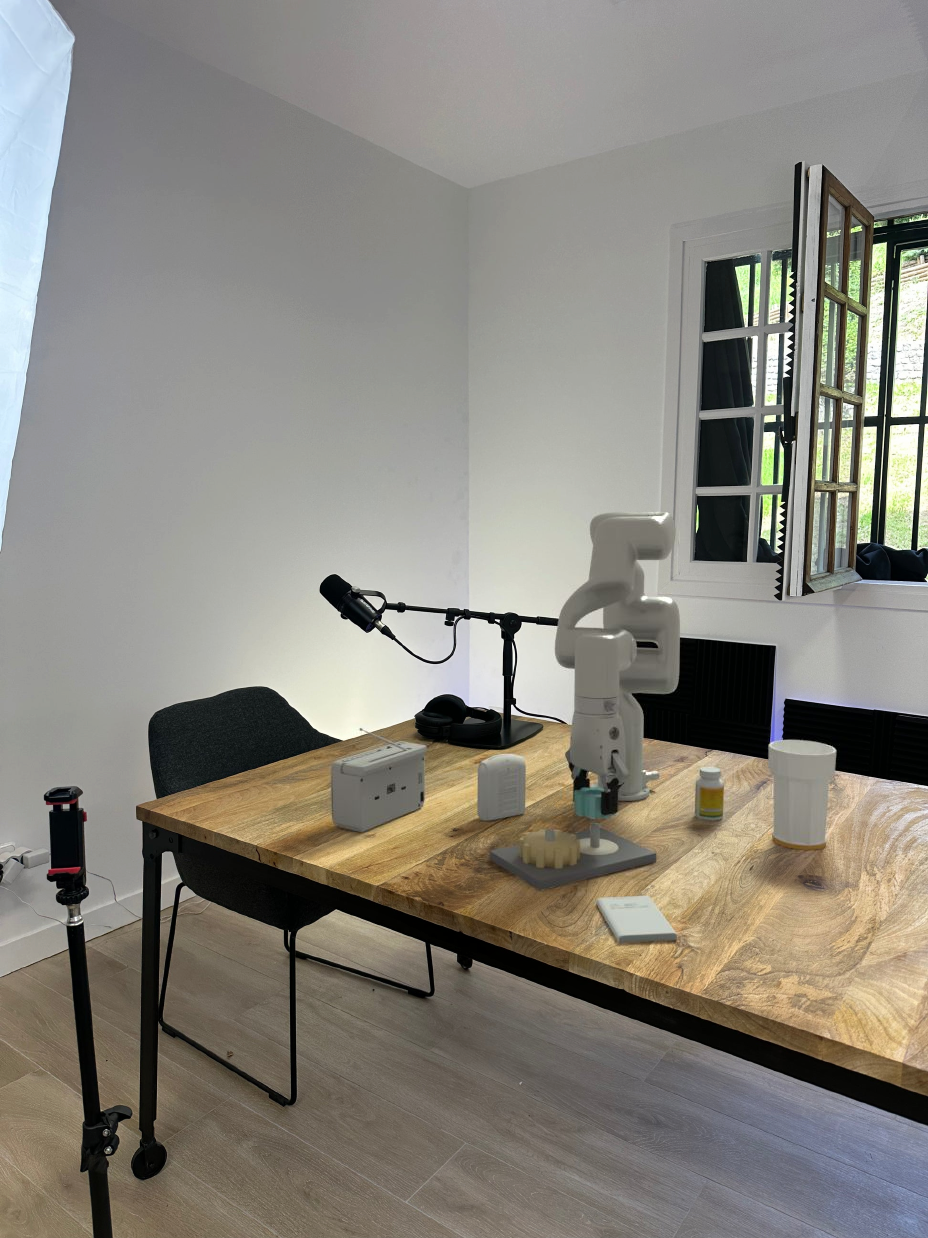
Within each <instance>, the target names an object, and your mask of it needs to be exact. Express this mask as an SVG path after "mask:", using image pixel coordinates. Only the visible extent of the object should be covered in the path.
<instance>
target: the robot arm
mask: <svg viewBox="0 0 928 1238" xmlns="http://www.w3.org/2000/svg"><path fill="white" fill-rule="evenodd" d="M676 532H677V531H676V523H675V520H674V518H673V516H672V515H671V514H670V513H669V512H666V511H642V512H641V511H639V512H638V511H637V512H636V511H619V512H617V511H615V512H605V513H601V514H598V515H595V516H593V518H592V519H591V521H590V525H589V535H590V539H591V543H592V551H591V559H590V564H589V565H590V567H589V571H588V572H589V573H588V574H589V575H588V580H587V581H586V582H585V583H583V584H581V586H580V587H578V588H577V589H576V590H574V591H573V593H571V595H570V596H569V598H568V599H567V600H566V601H565V603H564V604H563V605H562V608H561V609H560V612H559V616H558V621H557V627H556V628H557V629H556V634H555V640H554V656H555V659H556V662H557V663H558V664H559V666H561V667H562V668H565V669H570V670H574V687H573V688H574V690H573V691H574V695H573V699H574V701H573V708H574V709H573V715H572V720H571V727H570V737H569V740H570V741H569V748H568V750H566V751H565V752H564V755H565V759H566V761H567V763H568V768H569V771H570V772H571V774H570V777H571V779H572V780H573V783H572V785H573V786H572V787H573V788H572V802H573V803H574V791H575V790H580V789H581V788H582V787H587V788H594V787H600V788H603V789H604V791H602V792H601V814H602V815H609V814H615V813H616V814H617V813H618V812H619V811H618V810H619V802H630V801H631V802H632V801H639V800H643V799H646V798H648V797H649V796H650V791H651V789H650V788H649V786H648V785H647V784H648V783H649V782H650V781H652V782H653V781H657V780H659V779H660V773H659V771H657V770H653V771H649V772H647V770H643V769H644V767H643V766H644V764H643V763H644V713H643V712H644V711H643V709H642V707H641V705H640V703H639V702H638V701H637V699H636V698H635V697H634V696H633V695H632V694H638V693H639V694H640V693H641V694H656V695H657V694H658V695H659V694H661V695H666V694H667V695H668V694H671V693H673V692H675V690H676V689H677V687H678V684H679V679H680V677H679V676H680V652H681V651H680V647H681V645H680V643H681V640H680V638H681V619H680V618H681V616H680V610H679V607H678V603H677V602H676V601H675V600H674V599H672V598H670V597H668V596H650V595H649V596H648V595H647V596H646V595H645V572H644V569H643V568H642V566H641V565H640V563H639V562H638V561H663V560H667V558H668V557H669V555H670V554H671V551H672V549H673V547H674V544H675V540H676ZM600 609H602V610H603V611H602V624H603V627H584V626H583V627H581V626H580V627H579V626H578V627H576V626H577V624H578V623H579V621H580V620H582V619H583V618H584V617H585V616H587V615H589V614H590V613H592V612H596V611H598V610H600ZM637 642H650V643H651V642H652V643H655V644H656V645H657V647H658V648H653V647H637V646H638V645H637ZM589 773H592V774H594V775H597V781H595V782H593V783H592V784H591V779H590V778H588V776H589ZM616 814H615V815H616Z"/></svg>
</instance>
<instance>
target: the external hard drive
mask: <svg viewBox="0 0 928 1238" xmlns="http://www.w3.org/2000/svg"><path fill="white" fill-rule="evenodd" d="M596 906H597V907H598V909H599V911H600V913H601V914H602V916H603V918H604V920H605V921H606V923H607V925H608V927H609V928H610V930H611V932H612V934H613V936H614V937H615V939H616V941H617V942H618V943H619V944H620V943H623V944H624V943H641V942H659V941H664V942H665V941H678V934H677V932H676V931H675V929H674V928H673V927H672V925H671V924H670V923H669V921H668V920H667V918H665V916H664V915H663V913H662V912H661V910H660V909H659V907H658V906H657V905H656V904H655V902H654V901H653V899H652V898H651V897H650V896H649V895H637V896H635V895H633V896H613V897H610V896H609V897H599V898H597V899H596Z"/></svg>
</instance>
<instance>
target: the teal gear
mask: <svg viewBox="0 0 928 1238" xmlns="http://www.w3.org/2000/svg"><path fill="white" fill-rule="evenodd" d="M602 791H604V789H603V788H600V787H594V788H587V787H582V788H581V789H580V790H575V791H574V802H573V812H574V813H576V816H578V817H586V818H588V819H589V820H590V819H591V820H592V819H593V820H596V819H597V818H598V819H602V818H603V819H610V818H611V816H616V814H617V813H615V814H609V815H602V814H601V792H602Z"/></svg>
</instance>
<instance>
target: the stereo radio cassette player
mask: <svg viewBox="0 0 928 1238" xmlns="http://www.w3.org/2000/svg"><path fill="white" fill-rule="evenodd" d="M359 731H361V732H362V731H363V732H364V733H367V734H368V735H370V736H372V737H375V738H376V739H379V740H381V741H383V742H385V743H387V744H386V745H384V746H380V747H377V748H374V749H370V750H367V751H364V752H360V753H358V754H353V755H352V756H348V757H347V756H346V757H344V758H341V759H338V760H335V761H333V762H332V763H331V766H330V804H331V805H330V806H331V807H330V809H331V811H330V812H331V820H332V821H331V822H332V823H333V824H334V825H337V827H339V828H341V829H344V830H345V829H346V830H351V831H354V832H359V833H361V834H363V833H364V832H366V831H368V830H371V829H373V828H376V827H379V826H381V825H383V824H385V823H387V822H390V821H392V820H395V819H397V818H400V817H402V816H405V815H407V814H409V813H411V812H414V811H417V810H420V809H421V808H424V804H425V799H426V795H425V793H426V792H425V791H426V788H425V787H426V784H425V783H426V782H425V781H426V780H425V779H426V778H425V777H426V775H425V774H426V773H425V771H426V769H425V761H426V760H425V756H426V755H427V754H428V748H427V745H424V744H418V743H414V742H409V741H408V742H407V741H403V740H400V741H396V742H393V741H391V740H389V739H387V738H384V737H381V736H379V735H376V734H374V733H372V732H370V731H367V730H364V728H362V727H360V728H359Z"/></svg>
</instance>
